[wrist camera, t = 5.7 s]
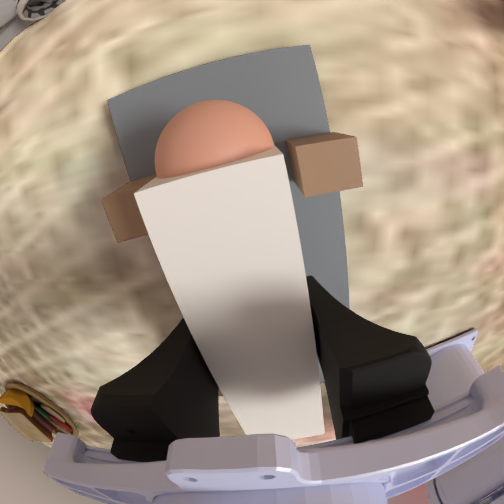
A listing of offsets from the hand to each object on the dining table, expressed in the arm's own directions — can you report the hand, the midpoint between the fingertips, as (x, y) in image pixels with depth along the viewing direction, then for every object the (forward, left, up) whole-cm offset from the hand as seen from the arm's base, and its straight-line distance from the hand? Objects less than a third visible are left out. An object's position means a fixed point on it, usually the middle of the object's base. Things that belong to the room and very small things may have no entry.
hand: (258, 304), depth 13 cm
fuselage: (+1, 0, -1) cm, 2 cm away
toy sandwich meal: (-17, +35, -5) cm, 39 cm away
